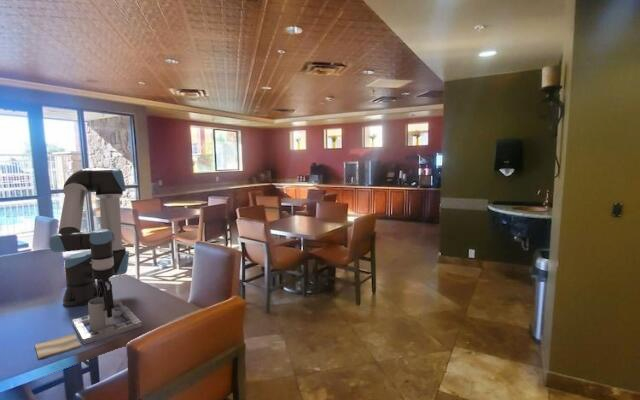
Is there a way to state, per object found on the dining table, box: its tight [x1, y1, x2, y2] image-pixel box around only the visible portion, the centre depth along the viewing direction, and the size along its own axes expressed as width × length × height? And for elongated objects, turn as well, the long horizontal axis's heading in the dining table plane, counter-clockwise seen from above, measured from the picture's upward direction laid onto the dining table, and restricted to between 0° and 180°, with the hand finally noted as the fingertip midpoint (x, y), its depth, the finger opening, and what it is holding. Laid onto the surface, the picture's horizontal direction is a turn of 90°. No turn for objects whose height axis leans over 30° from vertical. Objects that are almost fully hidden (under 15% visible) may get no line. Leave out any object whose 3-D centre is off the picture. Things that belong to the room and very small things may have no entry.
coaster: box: [34, 332, 82, 360], centre depth 124 cm, size 12×12×1 cm
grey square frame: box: [71, 305, 143, 345], centre depth 140 cm, size 22×20×2 cm
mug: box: [87, 297, 124, 332], centre depth 139 cm, size 12×8×11 cm
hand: (106, 320), depth 140 cm, fingers closed on mug, 8 cm apart
